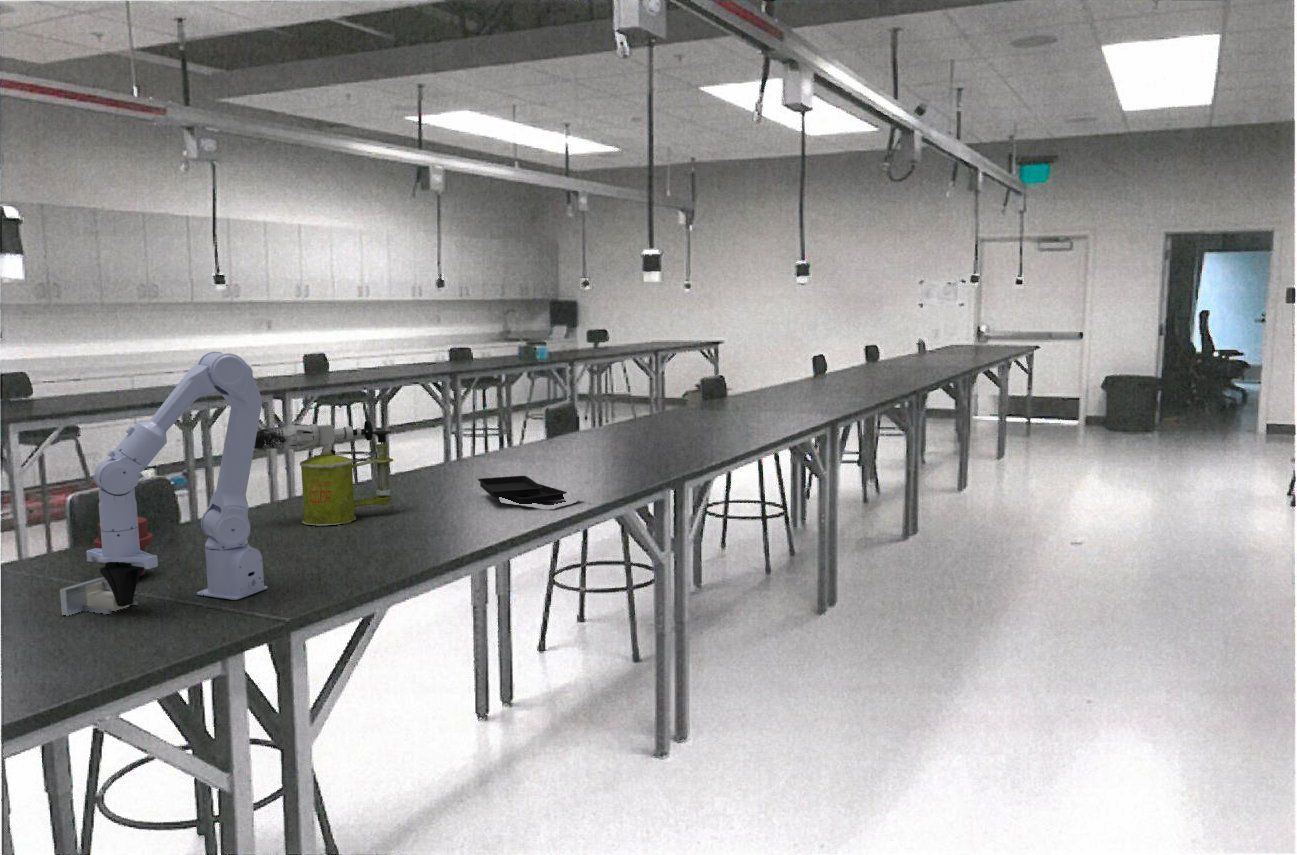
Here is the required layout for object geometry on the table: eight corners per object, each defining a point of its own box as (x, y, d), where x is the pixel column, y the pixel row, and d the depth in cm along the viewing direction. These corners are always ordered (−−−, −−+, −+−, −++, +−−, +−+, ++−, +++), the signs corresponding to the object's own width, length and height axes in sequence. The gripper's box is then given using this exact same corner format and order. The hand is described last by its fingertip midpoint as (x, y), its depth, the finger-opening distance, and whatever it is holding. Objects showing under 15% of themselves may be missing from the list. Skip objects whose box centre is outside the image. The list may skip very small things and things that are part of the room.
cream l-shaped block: (130, 607, 173) (128, 587, 172) (113, 612, 170) (111, 591, 169) (93, 599, 177) (91, 579, 177) (75, 604, 174) (74, 584, 174)
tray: (591, 499, 266) (591, 480, 266) (548, 516, 245) (548, 496, 245) (498, 491, 279) (497, 473, 278) (449, 507, 258) (448, 487, 257)
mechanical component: (88, 579, 190) (141, 568, 198) (110, 588, 184) (164, 576, 192) (83, 516, 189) (137, 508, 197) (105, 524, 183) (160, 515, 190)
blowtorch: (403, 518, 244) (399, 417, 241) (264, 534, 227) (258, 427, 223) (387, 508, 255) (383, 413, 252) (253, 524, 238) (247, 421, 234)
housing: (152, 600, 177) (150, 575, 176) (92, 620, 166) (90, 593, 165) (122, 596, 179) (120, 571, 179) (61, 615, 168) (59, 589, 168)
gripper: (68, 529, 168) (74, 606, 170) (130, 536, 163) (136, 616, 164) (104, 521, 174) (110, 595, 176) (165, 527, 169) (170, 604, 171)
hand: (125, 604), depth 171 cm, fingers closed
